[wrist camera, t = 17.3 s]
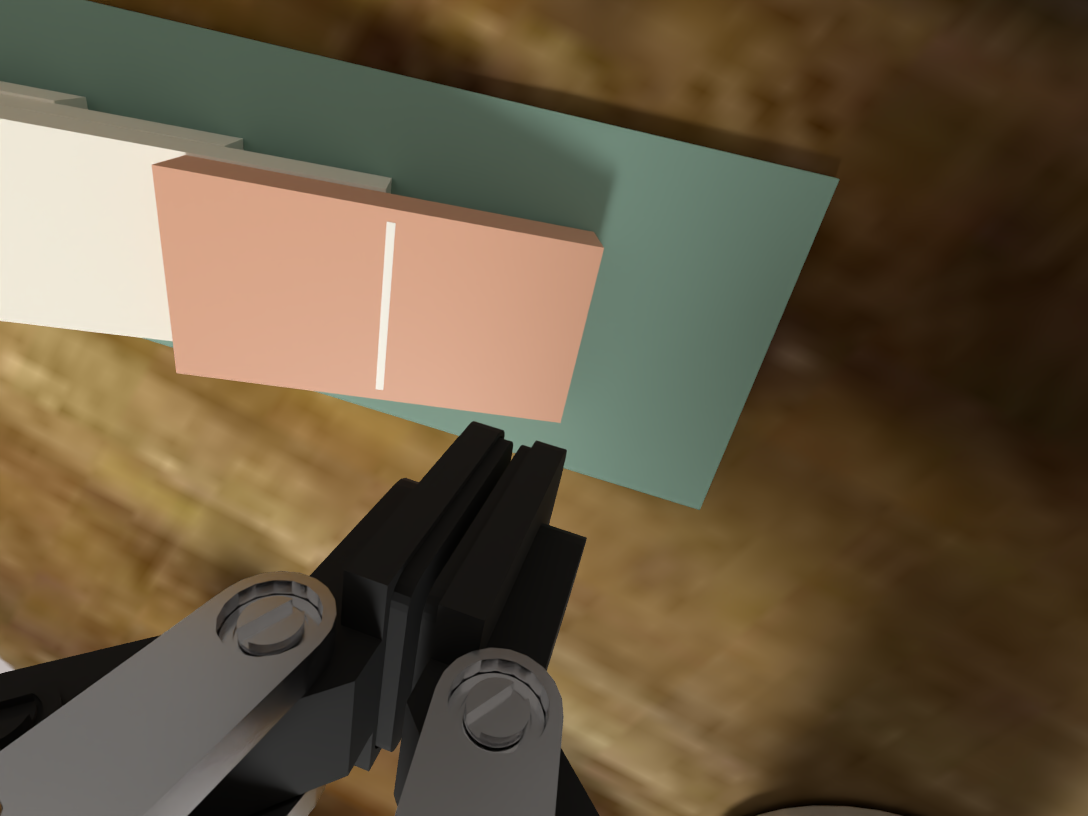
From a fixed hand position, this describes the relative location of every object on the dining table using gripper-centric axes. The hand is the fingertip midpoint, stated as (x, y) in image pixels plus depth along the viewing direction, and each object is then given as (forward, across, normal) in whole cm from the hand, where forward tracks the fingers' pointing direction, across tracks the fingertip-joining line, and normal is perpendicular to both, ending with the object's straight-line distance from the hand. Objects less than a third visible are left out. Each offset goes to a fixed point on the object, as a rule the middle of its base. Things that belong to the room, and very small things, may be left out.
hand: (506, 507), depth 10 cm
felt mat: (+8, +9, -1) cm, 12 cm away
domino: (+7, +6, -1) cm, 9 cm away
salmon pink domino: (+7, 0, -1) cm, 7 cm away
